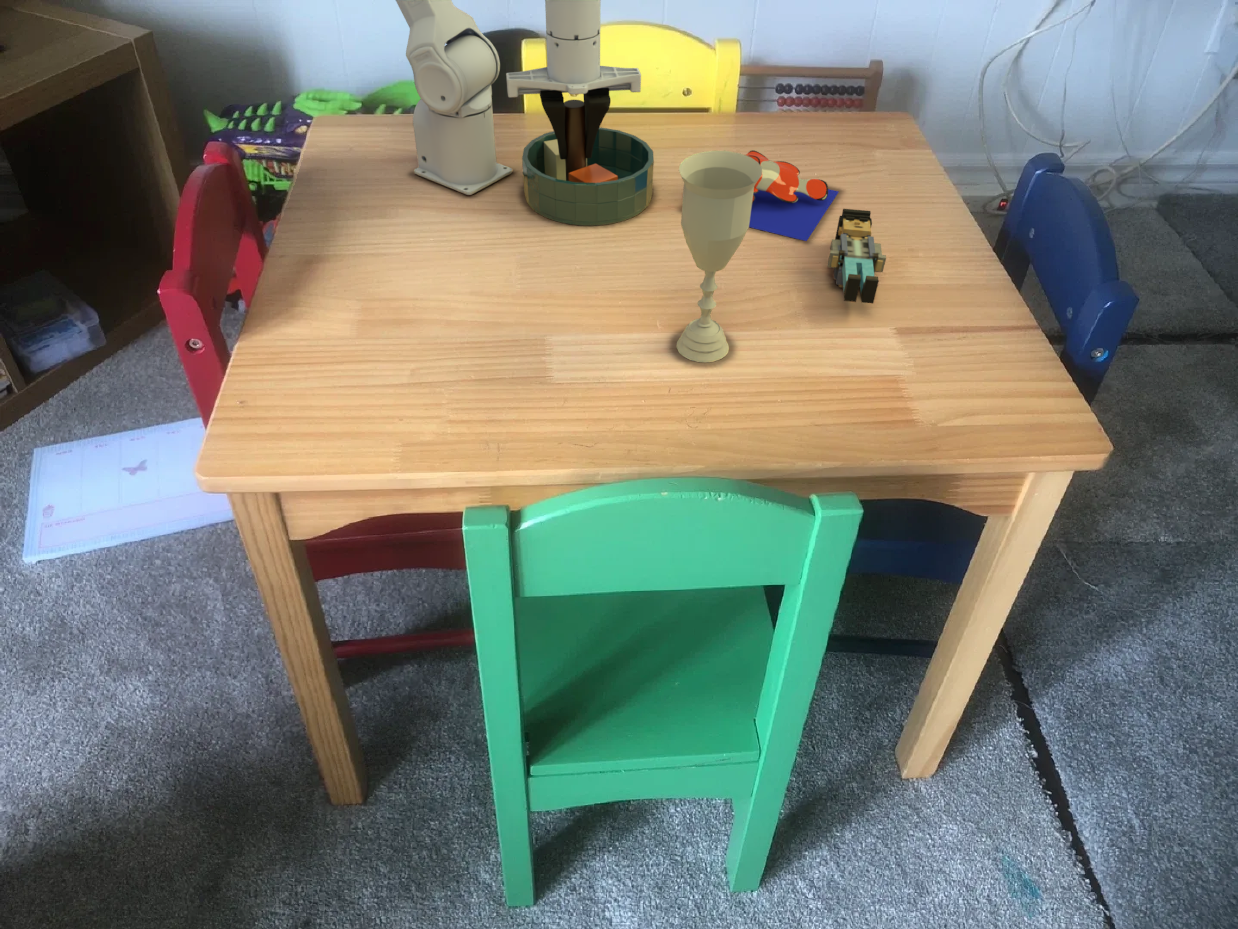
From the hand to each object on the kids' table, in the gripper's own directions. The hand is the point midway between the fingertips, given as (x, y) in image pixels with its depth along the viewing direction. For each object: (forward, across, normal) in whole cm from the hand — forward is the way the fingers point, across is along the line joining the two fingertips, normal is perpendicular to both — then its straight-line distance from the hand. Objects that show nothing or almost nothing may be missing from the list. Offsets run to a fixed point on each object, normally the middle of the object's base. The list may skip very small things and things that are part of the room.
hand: (574, 154), depth 105 cm
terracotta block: (+5, +2, -3) cm, 6 cm away
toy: (+6, +27, -21) cm, 35 cm away
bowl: (+5, +2, +1) cm, 6 cm away
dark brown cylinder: (+3, 0, 0) cm, 3 cm away
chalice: (+6, +9, -31) cm, 33 cm away
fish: (+6, +22, -3) cm, 23 cm away
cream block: (+5, -1, +5) cm, 7 cm away
